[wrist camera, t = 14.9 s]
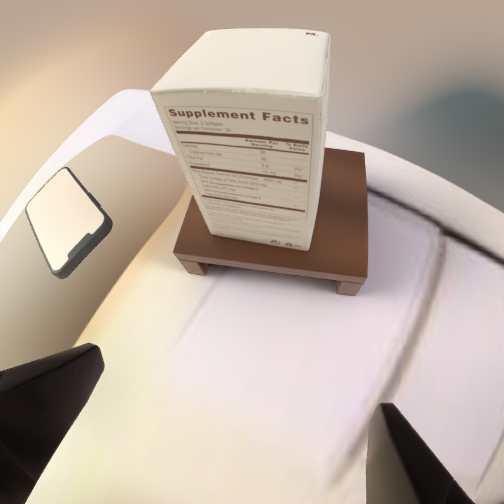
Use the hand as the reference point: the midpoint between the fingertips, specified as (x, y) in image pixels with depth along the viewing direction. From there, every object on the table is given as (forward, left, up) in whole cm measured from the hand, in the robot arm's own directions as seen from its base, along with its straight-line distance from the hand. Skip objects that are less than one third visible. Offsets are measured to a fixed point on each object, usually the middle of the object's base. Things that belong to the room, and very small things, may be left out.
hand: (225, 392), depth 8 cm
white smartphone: (+26, +13, -14) cm, 32 cm away
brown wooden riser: (+12, -8, -14) cm, 20 cm away
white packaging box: (+11, -7, -10) cm, 17 cm away
